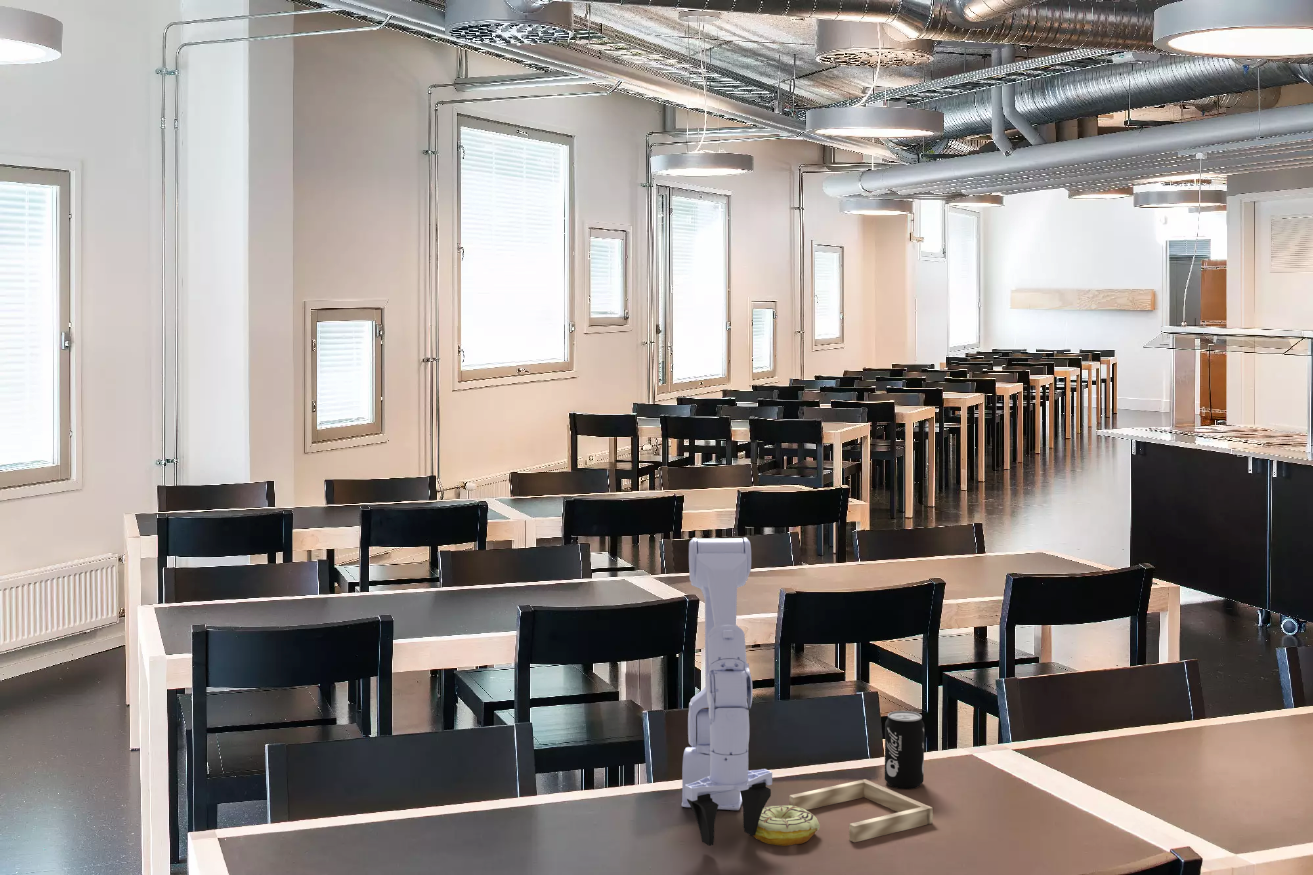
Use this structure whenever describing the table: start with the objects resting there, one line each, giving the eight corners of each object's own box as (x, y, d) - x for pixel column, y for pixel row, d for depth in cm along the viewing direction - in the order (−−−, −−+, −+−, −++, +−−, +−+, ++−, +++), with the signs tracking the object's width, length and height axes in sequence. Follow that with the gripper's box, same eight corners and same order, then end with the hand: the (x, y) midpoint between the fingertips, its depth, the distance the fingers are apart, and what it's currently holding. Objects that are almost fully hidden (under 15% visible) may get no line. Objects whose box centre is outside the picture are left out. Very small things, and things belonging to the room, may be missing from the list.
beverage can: (923, 791, 231) (924, 721, 230) (883, 788, 232) (884, 719, 231) (923, 779, 237) (924, 711, 236) (885, 776, 238) (886, 709, 237)
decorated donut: (831, 835, 211) (832, 811, 211) (789, 854, 203) (789, 829, 203) (777, 819, 218) (778, 795, 218) (735, 837, 210) (735, 813, 210)
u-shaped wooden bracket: (854, 842, 207) (854, 826, 207) (789, 810, 221) (789, 795, 221) (932, 823, 215) (932, 807, 215) (864, 793, 229) (865, 779, 229)
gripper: (703, 764, 197) (702, 856, 198) (784, 748, 204) (783, 837, 205) (677, 751, 203) (677, 841, 204) (757, 737, 210) (756, 823, 211)
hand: (728, 838), depth 205 cm, fingers open, 7 cm apart
